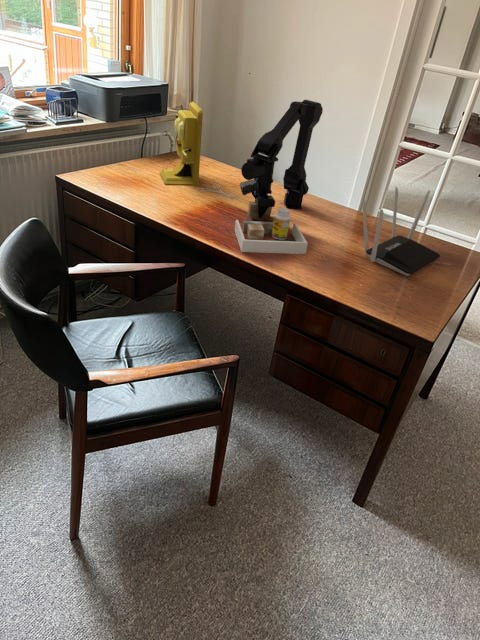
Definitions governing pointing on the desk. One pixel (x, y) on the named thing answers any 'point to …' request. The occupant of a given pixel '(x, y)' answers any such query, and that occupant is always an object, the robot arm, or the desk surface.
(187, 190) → the desk surface
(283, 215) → the supplement bottle
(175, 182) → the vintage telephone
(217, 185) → the scissors
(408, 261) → the wireless router
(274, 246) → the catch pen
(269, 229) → the wooden block frame
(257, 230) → the pale wooden block
